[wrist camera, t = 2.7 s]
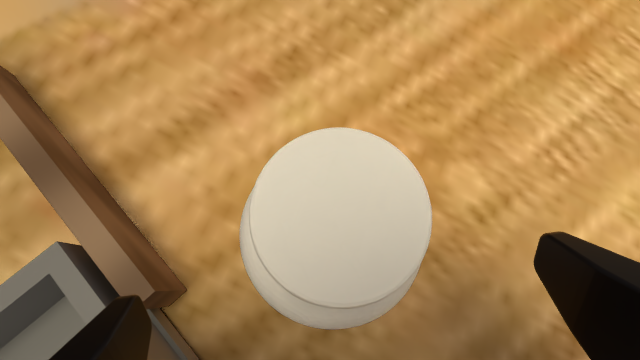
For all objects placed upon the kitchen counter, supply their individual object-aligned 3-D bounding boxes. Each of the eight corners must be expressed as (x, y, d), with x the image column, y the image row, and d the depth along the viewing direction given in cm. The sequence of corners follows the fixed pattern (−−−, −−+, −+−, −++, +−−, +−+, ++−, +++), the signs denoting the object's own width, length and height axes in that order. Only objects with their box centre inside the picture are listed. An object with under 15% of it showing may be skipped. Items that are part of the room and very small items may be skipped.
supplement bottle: (289, 182, 18) (267, 69, 9) (394, 216, 18) (488, 137, 8) (249, 289, 16) (169, 294, 7) (362, 329, 16) (434, 389, 7)
